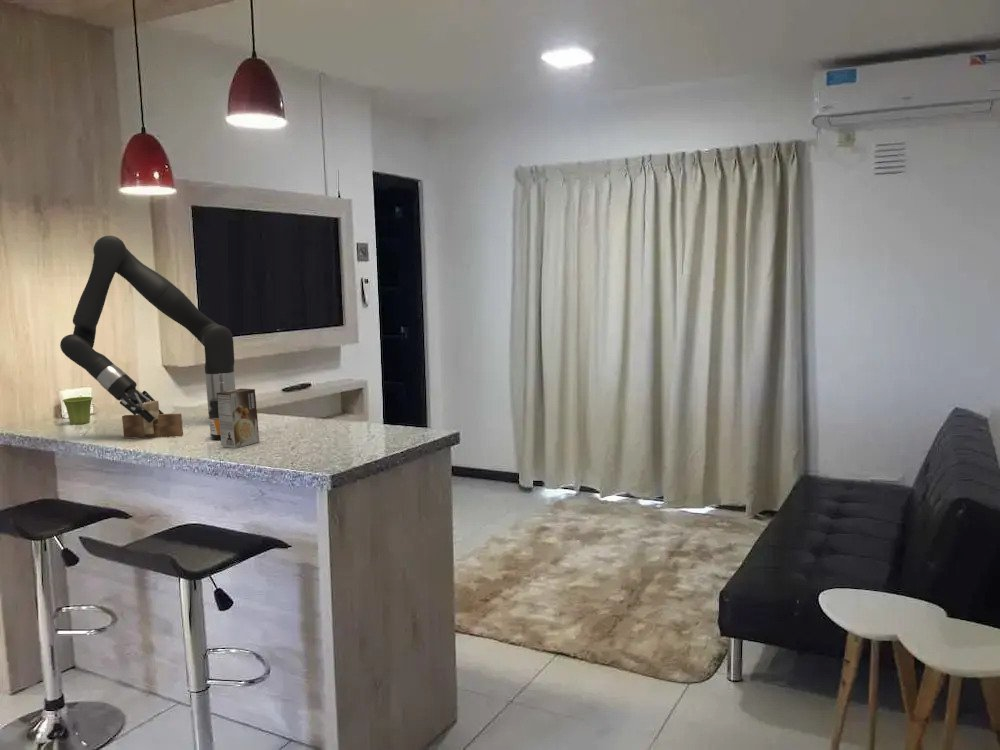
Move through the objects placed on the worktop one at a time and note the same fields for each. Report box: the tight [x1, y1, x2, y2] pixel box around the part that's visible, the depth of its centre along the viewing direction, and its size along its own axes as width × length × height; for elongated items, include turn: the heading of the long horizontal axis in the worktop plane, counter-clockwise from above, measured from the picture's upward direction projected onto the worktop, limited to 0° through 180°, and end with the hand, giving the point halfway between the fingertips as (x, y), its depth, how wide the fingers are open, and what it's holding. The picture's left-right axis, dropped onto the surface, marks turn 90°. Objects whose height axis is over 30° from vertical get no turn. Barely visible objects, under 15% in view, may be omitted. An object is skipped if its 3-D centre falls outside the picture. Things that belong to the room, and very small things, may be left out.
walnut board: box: [121, 413, 184, 439], centre depth 256 cm, size 18×2×7 cm, turn 88°
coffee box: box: [217, 388, 260, 449], centre depth 238 cm, size 9×6×16 cm
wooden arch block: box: [142, 400, 160, 434], centre depth 255 cm, size 2×6×10 cm, turn 178°
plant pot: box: [62, 396, 94, 425], centre depth 286 cm, size 9×9×9 cm
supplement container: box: [208, 398, 221, 441], centre depth 251 cm, size 10×10×12 cm
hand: (157, 418), depth 255 cm, fingers closed on wooden arch block, 6 cm apart
